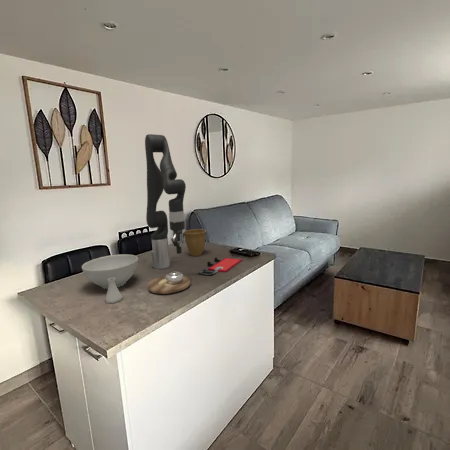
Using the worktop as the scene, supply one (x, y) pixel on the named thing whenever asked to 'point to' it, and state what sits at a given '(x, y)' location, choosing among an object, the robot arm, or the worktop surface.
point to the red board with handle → (221, 266)
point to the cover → (174, 278)
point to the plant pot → (195, 241)
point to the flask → (113, 292)
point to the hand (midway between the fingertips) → (179, 253)
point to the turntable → (167, 285)
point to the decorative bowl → (110, 269)
